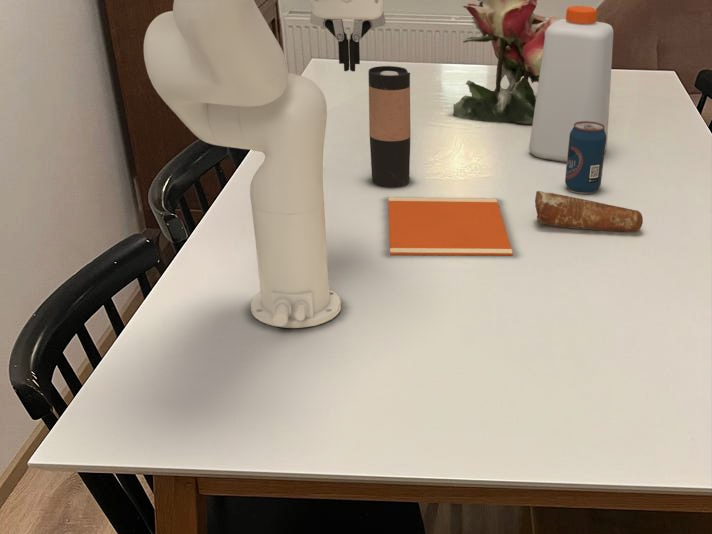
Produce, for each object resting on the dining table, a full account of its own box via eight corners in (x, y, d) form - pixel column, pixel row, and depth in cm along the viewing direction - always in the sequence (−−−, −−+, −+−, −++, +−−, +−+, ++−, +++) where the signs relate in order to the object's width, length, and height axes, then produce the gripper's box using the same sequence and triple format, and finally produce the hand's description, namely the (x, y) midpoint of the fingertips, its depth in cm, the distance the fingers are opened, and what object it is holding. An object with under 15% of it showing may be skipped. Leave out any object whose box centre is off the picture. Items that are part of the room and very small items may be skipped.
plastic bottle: (523, 157, 194) (534, 10, 178) (543, 139, 206) (555, -2, 189) (594, 168, 190) (611, 18, 174) (609, 148, 202) (627, 6, 186)
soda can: (557, 185, 181) (563, 122, 174) (587, 181, 183) (594, 118, 176) (576, 197, 176) (583, 132, 169) (607, 192, 178) (615, 128, 171)
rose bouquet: (572, 129, 213) (586, -17, 195) (447, 118, 216) (450, -27, 198) (579, 102, 234) (593, -33, 216) (466, 92, 237) (470, -42, 219)
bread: (534, 217, 166) (537, 186, 163) (641, 227, 164) (645, 196, 161) (531, 229, 161) (533, 198, 158) (641, 240, 159) (645, 208, 156)
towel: (512, 255, 151) (512, 253, 151) (390, 254, 149) (390, 252, 149) (496, 200, 172) (496, 198, 172) (388, 199, 170) (388, 197, 170)
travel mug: (362, 182, 177) (359, 71, 165) (384, 172, 182) (382, 63, 171) (397, 190, 174) (395, 77, 162) (417, 179, 180) (418, 69, 168)
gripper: (286, -75, 122) (296, 74, 132) (400, -70, 123) (401, 76, 134) (290, -81, 128) (300, 62, 138) (399, -76, 129) (400, 64, 140)
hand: (349, 69), depth 136 cm, fingers closed
